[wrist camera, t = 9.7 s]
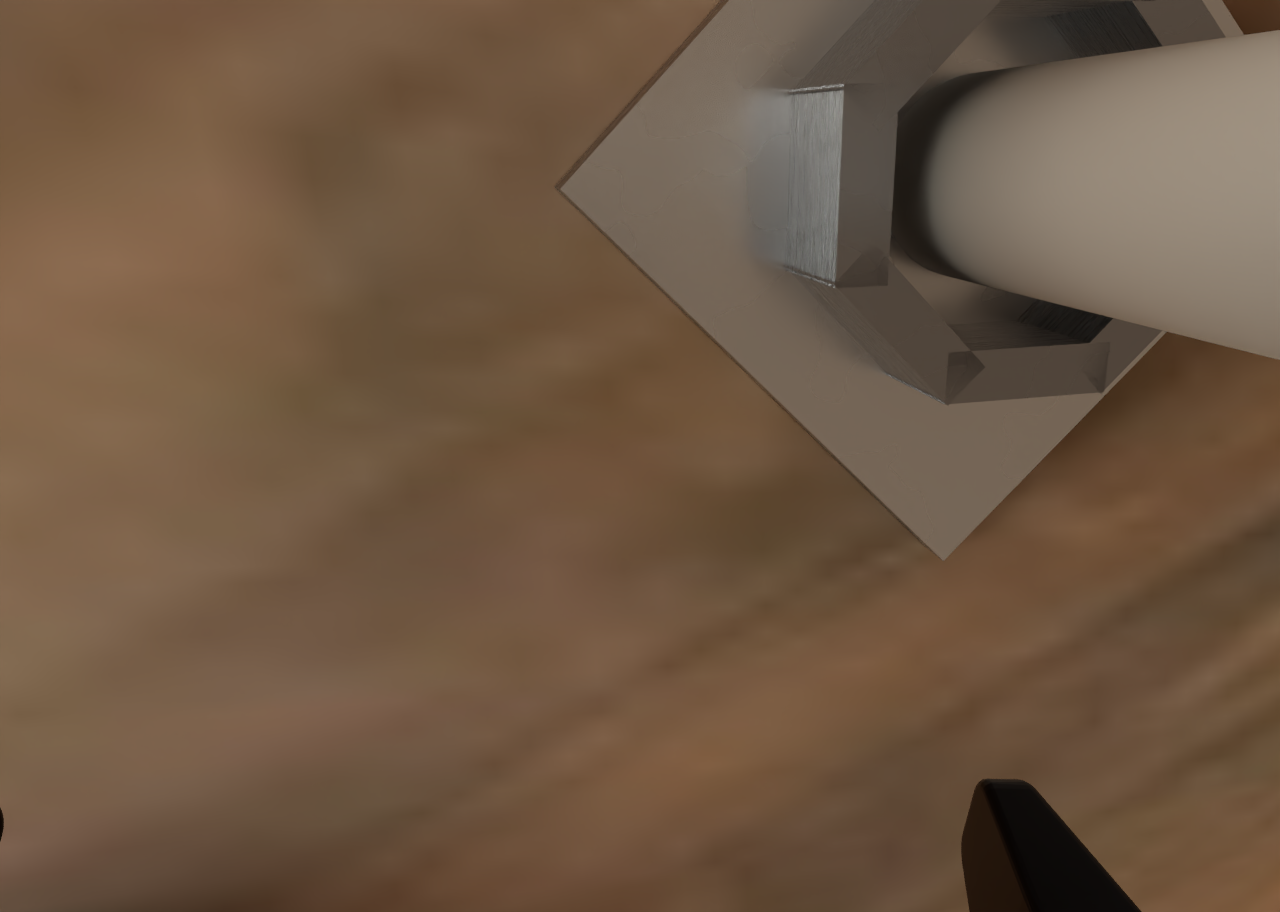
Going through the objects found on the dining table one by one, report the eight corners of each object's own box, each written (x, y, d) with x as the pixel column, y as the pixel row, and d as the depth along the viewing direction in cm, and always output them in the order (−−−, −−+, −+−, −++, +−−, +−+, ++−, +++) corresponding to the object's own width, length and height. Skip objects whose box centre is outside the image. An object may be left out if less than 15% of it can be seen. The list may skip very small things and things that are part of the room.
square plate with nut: (926, 547, 24) (1002, 609, 21) (554, 186, 19) (581, 196, 16) (1297, 165, 23) (1436, 170, 20) (992, -304, 18) (1109, -391, 15)
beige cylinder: (1011, 304, 21) (1784, 515, 9) (850, 236, 20) (1481, 374, 8) (1097, 120, 20) (2074, 77, 8) (933, 38, 19) (1781, -148, 7)
